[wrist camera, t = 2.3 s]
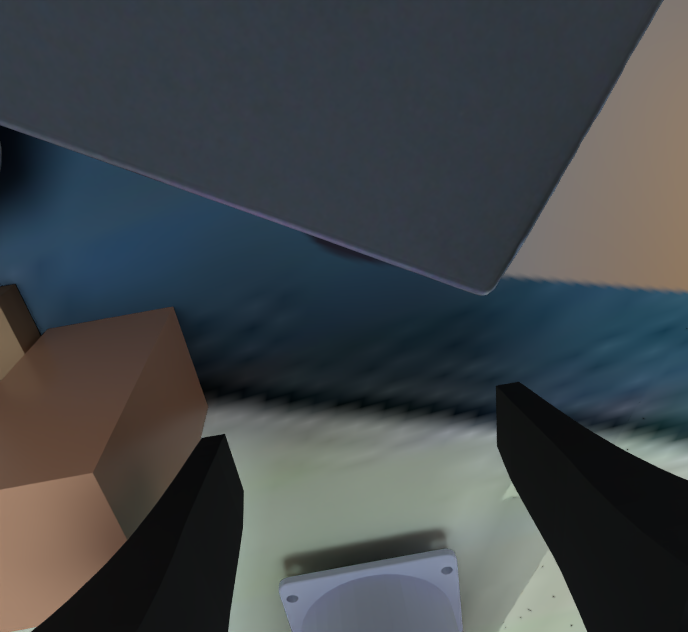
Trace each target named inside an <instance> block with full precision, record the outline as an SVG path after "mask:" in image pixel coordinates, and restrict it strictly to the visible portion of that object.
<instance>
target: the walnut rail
mask: <svg viewBox="0 0 688 632" xmlns="http://www.w3.org/2000/svg"><path fill="white" fill-rule="evenodd" d="M40 337H41V335H40V333H39V331H38V329H37V327H36V325H35V323H34V321H33V319H32V317H31V315H30V313H29V311H28V309H27V307H26V305H25V303H24V301H23V299H22V297H21V295H20V293H19V291H18V289H17V287H16V285H15V284H12V285H7V286H1V287H0V381H1V380H2V379H3V378H4V377H5V376H6V375H7V373H8V372H9V371H10V370H11V369H12V368H13V367H14V366H15V365H16V363H17V362H18V361H19V360H20V359H21V358H22V357H23V356H24V355H25V354H26V352H27V351H28V350H29V349H30V348H31V347H32V346H33V345H34V344H35V342H36V341H37V340H38V339H39V338H40Z"/></svg>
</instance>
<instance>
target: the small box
mask: <svg viewBox="0 0 688 632" xmlns="http://www.w3.org/2000/svg"><path fill="white" fill-rule="evenodd" d="M663 1H664V0H0V125H1V126H4V127H7V128H10V129H13V130H15V131H18V132H21V133H24V134H27V135H30V136H33V137H35V138H38V139H41V140H44V141H47V142H50V143H53V144H55V145H58V146H61V147H64V148H67V149H70V150H73V151H75V152H78V153H81V154H84V155H87V156H89V157H92V158H95V159H98V160H101V161H104V162H106V163H109V164H112V165H115V166H118V167H121V168H123V169H126V170H129V171H132V172H135V173H138V174H140V175H143V176H146V177H149V178H152V179H154V180H157V181H160V182H163V183H166V184H169V185H171V186H174V187H177V188H180V189H183V190H186V191H188V192H191V193H194V194H197V195H200V196H202V197H205V198H208V199H211V200H214V201H217V202H219V203H222V204H225V205H228V206H231V207H234V208H236V209H239V210H242V211H245V212H248V213H250V214H253V215H256V216H259V217H262V218H265V219H267V220H270V221H273V222H276V223H279V224H282V225H284V226H287V227H290V228H293V229H296V230H298V231H301V232H304V233H307V234H310V235H313V236H315V237H318V238H321V239H324V240H327V241H330V242H332V243H335V244H338V245H340V246H343V247H346V248H348V249H351V250H354V251H357V252H359V253H362V254H365V255H368V256H370V257H373V258H376V259H379V260H381V261H384V262H387V263H389V264H392V265H395V266H398V267H400V268H403V269H406V270H409V271H412V272H414V273H417V274H420V275H423V276H426V277H428V278H431V279H434V280H437V281H439V282H442V283H445V284H448V285H451V286H453V287H456V288H459V289H462V290H465V291H467V292H470V293H473V294H476V295H487V294H489V293H490V292H491V291H492V290H494V289H495V287H496V285H497V284H498V282H499V281H500V279H501V278H502V276H503V275H504V273H505V271H506V270H507V268H508V267H509V265H510V264H511V262H512V261H513V259H514V258H515V256H516V255H517V253H518V251H519V250H520V248H521V247H522V245H523V243H524V241H525V240H526V238H527V237H528V235H529V233H530V231H531V230H532V228H533V226H534V225H535V223H536V221H537V219H538V217H539V216H540V214H541V212H542V210H543V209H544V207H545V205H546V203H547V202H548V200H549V198H550V197H551V195H552V194H553V192H554V191H555V189H556V187H557V185H558V183H559V181H560V179H561V177H562V176H563V174H564V172H565V170H566V168H567V167H568V165H569V164H570V162H571V161H572V159H573V157H574V156H575V154H576V152H577V150H578V148H579V146H580V144H581V142H582V140H583V139H584V137H585V136H586V134H587V133H588V131H589V129H590V127H591V125H592V123H593V122H594V120H595V119H596V117H597V116H598V115H599V113H600V112H601V110H602V108H603V106H604V104H605V102H606V101H607V99H608V97H609V95H610V93H611V91H612V90H613V88H614V86H615V84H616V83H617V81H618V79H619V77H620V75H621V74H622V72H623V69H624V67H625V65H626V63H627V61H628V60H629V58H630V56H631V54H632V53H633V51H634V50H635V48H636V46H637V45H638V43H639V41H640V40H641V38H642V36H643V35H644V33H645V31H646V30H647V28H648V26H649V25H650V23H651V21H652V19H653V18H654V16H655V14H656V12H657V10H658V8H659V7H660V5H661V4H662V2H663Z"/></svg>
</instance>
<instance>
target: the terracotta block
mask: <svg viewBox="0 0 688 632" xmlns="http://www.w3.org/2000/svg"><path fill="white" fill-rule="evenodd" d="M207 410H208V405H207V403H206V400H205V397H204V394H203V391H202V388H201V385H200V382H199V380H198V377H197V374H196V371H195V368H194V365H193V362H192V359H191V356H190V354H189V351H188V348H187V345H186V342H185V339H184V336H183V333H182V331H181V328H180V325H179V322H178V319H177V316H176V313H175V310H174V308H173V307H167V308H162V309H156V310H151V311H145V312H140V313H134V314H128V315H123V316H117V317H112V318H106V319H101V320H95V321H90V322H84V323H79V324H73V325H67V326H62V327H56V328H51V329H47V330H46V331H45V333H44V334H43V335H42V336H41V337H40V338H39V339H38V340H37V341H36V342H35V344H34V345H33V346H32V347H31V348H30V349H29V350H28V351H27V352H26V354H25V355H24V356H23V357H22V358H21V359H20V360H19V361H18V362H17V363H16V365H15V366H14V367H13V368H12V369H11V370H10V371H9V372H8V373H7V375H6V376H5V377H4V378H3V379H2V380H1V381H0V632H11V631H17V630H22V629H27V628H33V627H37V626H39V625H40V624H41V623H42V622H44V621H45V620H46V619H47V618H48V617H49V616H51V615H52V614H53V613H54V612H55V611H56V610H57V609H59V608H60V607H61V606H62V605H63V604H64V603H65V602H67V601H68V600H69V599H70V598H71V597H72V596H73V595H74V594H75V593H76V592H77V591H78V590H79V589H80V588H81V587H82V586H83V585H84V584H85V583H86V582H88V581H89V580H90V579H91V578H92V577H93V576H94V575H95V574H96V573H97V572H98V571H99V570H100V569H101V568H102V567H103V566H104V565H105V564H106V563H107V562H108V561H109V560H110V558H111V557H112V556H113V555H114V554H115V553H116V552H117V551H118V550H119V549H120V548H121V547H122V545H123V544H124V543H125V542H126V541H127V540H128V539H129V537H130V536H131V535H132V534H133V533H134V532H135V530H136V529H137V528H138V526H139V525H140V524H141V523H142V521H143V520H144V519H145V518H146V516H147V515H148V514H149V512H150V511H151V510H152V509H153V507H154V506H155V505H156V503H157V502H158V501H159V499H160V498H161V496H162V495H163V494H164V492H165V491H166V489H167V488H168V487H169V485H170V484H171V482H172V481H173V480H174V478H175V477H176V475H177V474H178V472H179V471H180V469H181V468H182V466H183V465H184V463H185V462H186V460H187V459H188V457H189V456H190V454H191V453H192V451H193V450H194V448H195V447H196V445H197V444H198V443H199V441H200V439H201V435H202V431H203V427H204V423H205V419H206V414H207Z"/></svg>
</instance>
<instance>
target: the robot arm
mask: <svg viewBox="0 0 688 632" xmlns="http://www.w3.org/2000/svg"><path fill="white" fill-rule="evenodd" d="M496 415H497V447H498V449H499V452H500V454H501V457H502V460H503V462H504V465H505V467H506V469H507V472H508V474H509V477H510V479H511V481H512V483H513V485H514V487H515V488H516V490H517V492H518V494H519V496H520V497H521V499H522V501H523V503H524V505H525V507H526V508H527V510H528V512H529V514H530V515H531V517H532V519H533V521H534V523H535V524H536V526H537V528H538V530H539V531H540V533H541V535H542V537H543V539H544V540H545V542H546V544H547V546H548V547H549V549H550V551H551V553H552V555H553V556H554V558H555V560H556V562H557V564H558V566H559V568H560V570H561V572H562V574H563V577H564V579H565V581H566V584H567V586H568V588H569V590H570V593H571V595H572V597H573V599H574V602H575V604H576V606H577V608H578V611H579V613H580V616H581V618H582V620H583V623H584V625H585V627H586V630H587V632H688V480H686V479H683V478H681V477H678V476H676V475H674V474H671V473H669V472H667V471H665V470H663V469H660V468H658V467H656V466H654V465H652V464H650V463H648V462H646V461H644V460H642V459H640V458H638V457H636V456H634V455H632V454H630V453H628V452H626V451H624V450H623V449H621V448H619V447H617V446H615V445H614V444H612V443H610V442H609V441H607V440H605V439H603V438H602V437H600V436H598V435H597V434H595V433H593V432H592V431H590V430H589V429H587V428H585V427H584V426H582V425H581V424H579V423H577V422H576V421H574V420H573V419H571V418H570V417H568V416H567V415H565V414H564V413H562V412H561V411H560V410H558V409H557V408H555V407H554V406H552V405H551V404H549V403H548V402H547V401H545V400H544V399H542V398H541V397H540V396H538V395H537V394H535V393H534V392H533V391H531V390H530V389H528V388H527V387H526V386H524V385H523V384H521V383H520V382H515V383H510V384H504V385H498V386H496ZM243 504H244V490H243V487H242V484H241V481H240V478H239V475H238V472H237V469H236V466H235V463H234V460H233V457H232V454H231V451H230V448H229V445H228V442H227V439H226V436H225V434H222V435H216V436H210V437H205V438H202V439H201V440H200V441H199V443H198V444H197V445H196V447H195V448H194V450H193V451H192V453H191V454H190V456H189V457H188V459H187V460H186V462H185V463H184V465H183V466H182V468H181V469H180V471H179V472H178V474H177V475H176V477H175V478H174V480H173V481H172V482H171V484H170V485H169V487H168V488H167V489H166V491H165V492H164V494H163V495H162V496H161V498H160V499H159V501H158V502H157V503H156V505H155V506H154V507H153V509H152V510H151V511H150V512H149V514H148V515H147V516H146V518H145V519H144V520H143V521H142V523H141V524H140V525H139V526H138V528H137V529H136V530H135V532H134V533H133V534H132V535H131V536H130V537H129V539H128V540H127V541H126V542H125V543H124V544H123V545H122V547H121V548H120V549H119V550H118V551H117V552H116V553H115V554H114V555H113V556H112V557H111V558H110V560H109V561H108V562H107V563H106V564H105V565H104V566H103V567H102V568H101V569H100V570H99V571H98V572H97V573H96V574H95V575H94V576H93V577H92V578H91V579H90V580H89V581H88V582H86V583H85V584H84V585H83V586H82V587H81V588H80V589H79V590H78V591H77V592H76V593H75V594H74V595H73V596H72V597H71V598H70V599H69V600H68V601H67V602H65V603H64V604H63V605H62V606H61V607H60V608H59V609H57V610H56V611H55V612H54V613H53V614H52V615H51V616H49V617H48V618H47V619H46V620H45V621H44V622H42V623H41V624H40V625H39V626H37V627H36V628H35V629H34V630H33V631H31V632H228V627H229V618H230V610H231V603H232V597H233V590H234V584H235V577H236V571H237V564H238V558H239V551H240V544H241V537H242V530H243ZM279 594H280V597H281V600H282V603H283V606H284V609H285V612H286V615H287V618H288V621H289V624H290V627H291V630H292V632H463V625H462V613H461V601H460V589H459V577H458V565H457V558H456V555H455V553H454V551H453V550H451V549H439V550H434V551H428V552H423V553H417V554H412V555H406V556H401V557H395V558H390V559H384V560H379V561H373V562H368V563H362V564H357V565H351V566H346V567H341V568H335V569H330V570H324V571H319V572H313V573H308V574H302V575H297V576H291V577H287V578H284V579H283V580H281V581H280V583H279Z"/></svg>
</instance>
